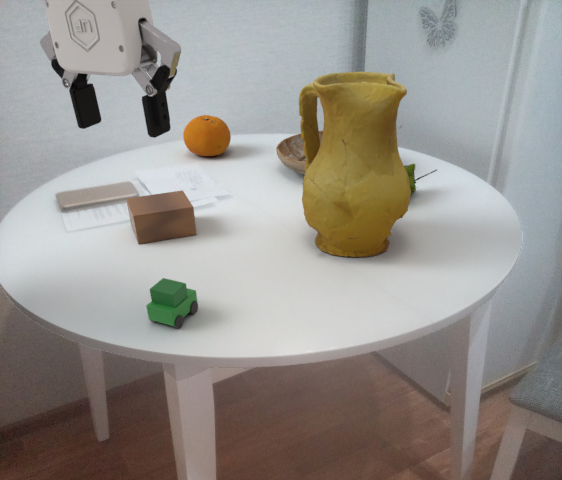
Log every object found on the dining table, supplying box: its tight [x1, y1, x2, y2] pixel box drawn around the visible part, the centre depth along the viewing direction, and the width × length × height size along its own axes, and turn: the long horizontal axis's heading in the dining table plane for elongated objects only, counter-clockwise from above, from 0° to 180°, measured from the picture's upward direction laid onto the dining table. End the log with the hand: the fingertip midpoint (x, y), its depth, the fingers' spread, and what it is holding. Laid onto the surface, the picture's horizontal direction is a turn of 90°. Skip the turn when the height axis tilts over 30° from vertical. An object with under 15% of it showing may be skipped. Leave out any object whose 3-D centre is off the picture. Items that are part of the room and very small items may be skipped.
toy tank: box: [403, 163, 438, 194], centre depth 107 cm, size 7×19×10 cm
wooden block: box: [125, 190, 197, 245], centre depth 96 cm, size 10×8×5 cm
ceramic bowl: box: [275, 130, 323, 176], centre depth 119 cm, size 23×24×5 cm
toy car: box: [145, 277, 199, 329], centre depth 75 cm, size 6×4×5 cm
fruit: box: [183, 114, 232, 157], centre depth 127 cm, size 10×10×8 cm
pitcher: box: [298, 71, 412, 258], centre depth 87 cm, size 17×19×25 cm
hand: (124, 129), depth 61 cm, fingers open, 9 cm apart
